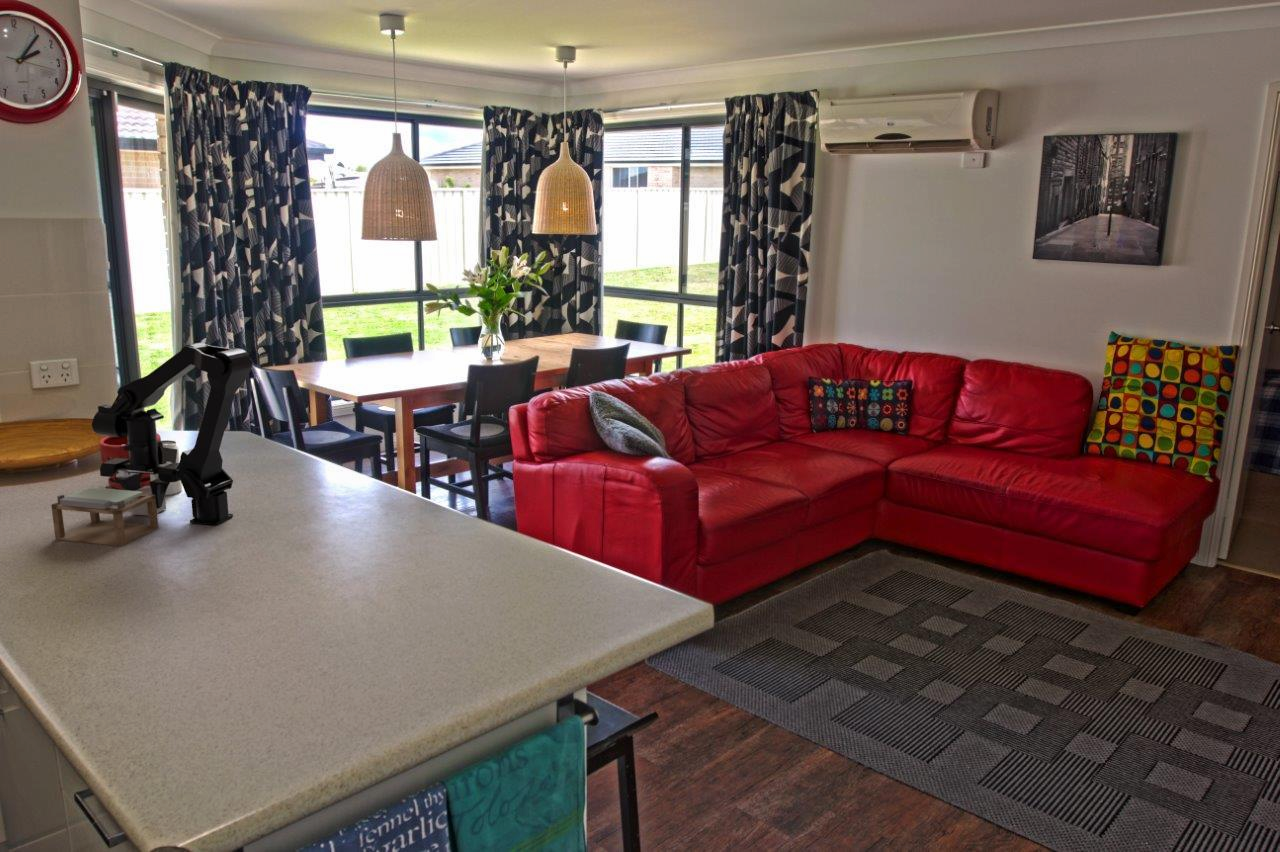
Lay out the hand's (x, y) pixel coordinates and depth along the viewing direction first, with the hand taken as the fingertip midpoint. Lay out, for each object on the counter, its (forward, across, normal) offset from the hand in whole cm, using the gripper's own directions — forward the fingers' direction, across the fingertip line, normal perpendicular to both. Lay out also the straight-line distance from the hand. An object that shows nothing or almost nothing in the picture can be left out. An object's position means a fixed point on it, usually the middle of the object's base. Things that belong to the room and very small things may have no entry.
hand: (149, 507), depth 209 cm
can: (+2, +6, -14) cm, 15 cm away
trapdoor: (-6, -1, +15) cm, 16 cm away
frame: (+1, -1, +14) cm, 14 cm away
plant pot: (+2, +17, -17) cm, 24 cm away
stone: (+1, 0, 0) cm, 1 cm away
